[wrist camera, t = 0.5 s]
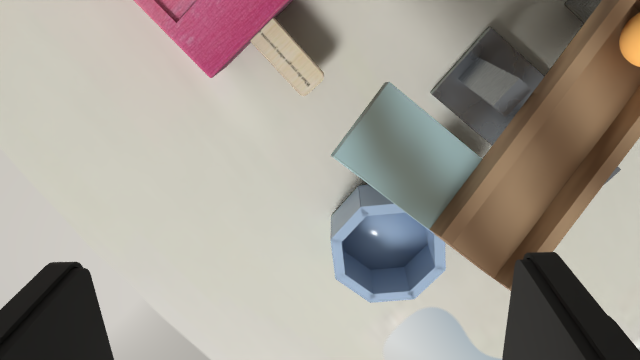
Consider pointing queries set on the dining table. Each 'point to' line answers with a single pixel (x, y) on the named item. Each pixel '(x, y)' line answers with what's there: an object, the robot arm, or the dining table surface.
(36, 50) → the dining table surface
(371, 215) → the cup
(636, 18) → the ball
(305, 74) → the popsicle
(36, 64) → the dining table surface
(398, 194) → the lever
